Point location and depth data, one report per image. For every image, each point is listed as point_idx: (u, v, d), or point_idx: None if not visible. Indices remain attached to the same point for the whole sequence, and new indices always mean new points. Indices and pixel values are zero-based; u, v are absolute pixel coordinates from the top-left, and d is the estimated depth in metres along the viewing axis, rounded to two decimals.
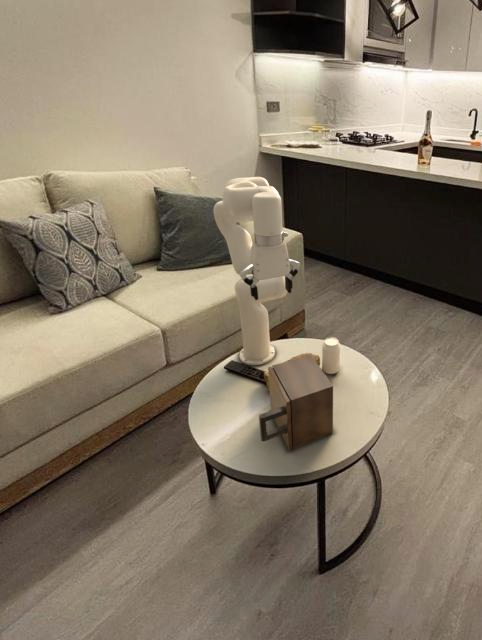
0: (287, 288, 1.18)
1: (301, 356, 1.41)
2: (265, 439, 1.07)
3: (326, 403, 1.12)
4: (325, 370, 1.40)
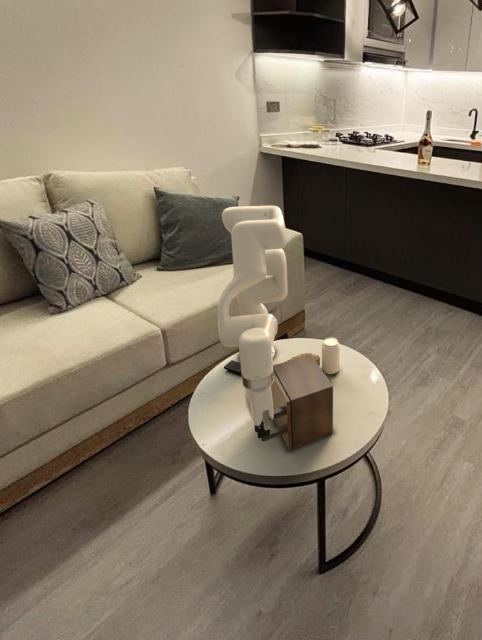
0: None
1: (301, 356, 1.41)
2: (265, 439, 1.07)
3: (326, 403, 1.12)
4: (325, 370, 1.40)
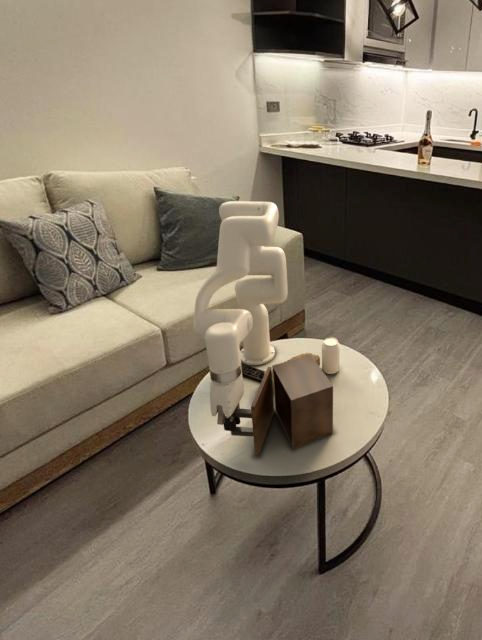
0: None
1: (301, 356, 1.41)
2: (233, 434, 1.08)
3: (326, 403, 1.12)
4: (325, 370, 1.40)
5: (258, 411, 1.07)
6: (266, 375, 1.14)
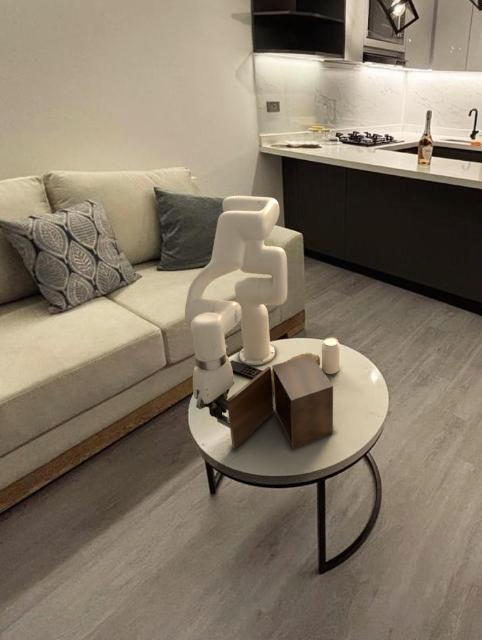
0: None
1: (301, 356, 1.41)
2: (218, 420, 1.12)
3: (326, 403, 1.12)
4: (325, 370, 1.40)
5: (237, 407, 1.08)
6: (260, 374, 1.14)
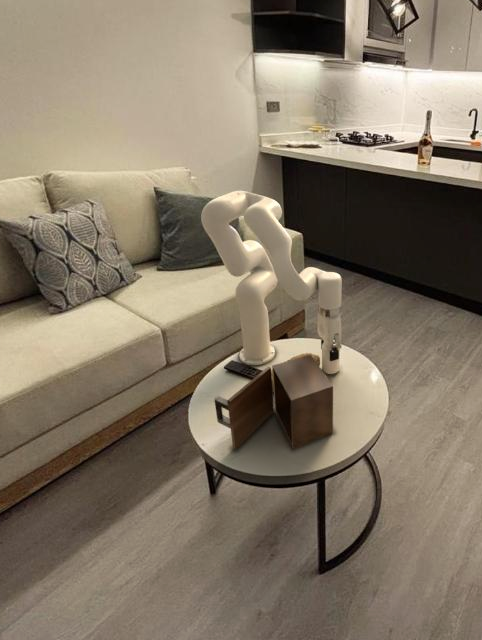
0: None
1: (301, 356, 1.41)
2: (218, 421, 1.12)
3: (326, 403, 1.12)
4: (325, 370, 1.40)
5: (238, 407, 1.08)
6: (261, 374, 1.14)
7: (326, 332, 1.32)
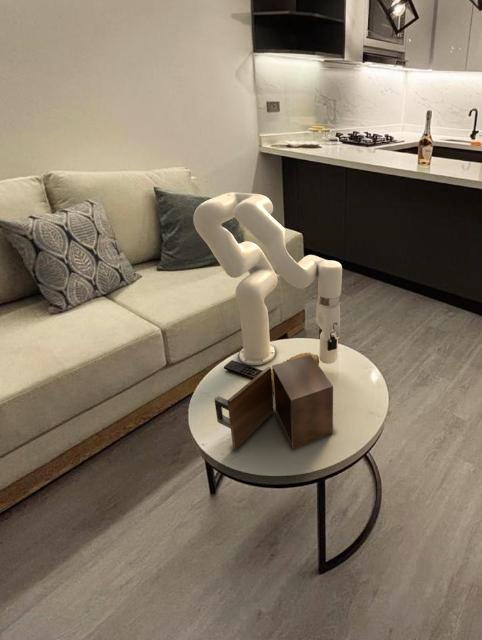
0: None
1: (300, 356, 1.41)
2: (218, 421, 1.12)
3: (326, 403, 1.12)
4: (322, 360, 1.39)
5: (238, 407, 1.08)
6: (261, 374, 1.14)
7: (325, 321, 1.31)
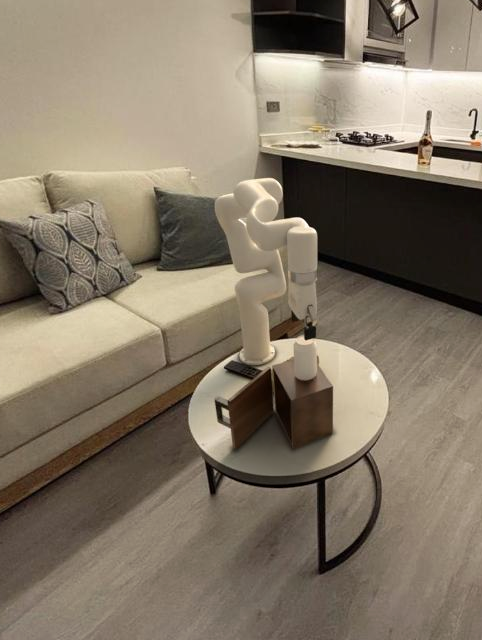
0: None
1: None
2: (218, 421, 1.12)
3: (326, 403, 1.12)
4: (298, 376, 1.11)
5: (238, 407, 1.08)
6: (261, 374, 1.14)
7: (297, 303, 1.04)
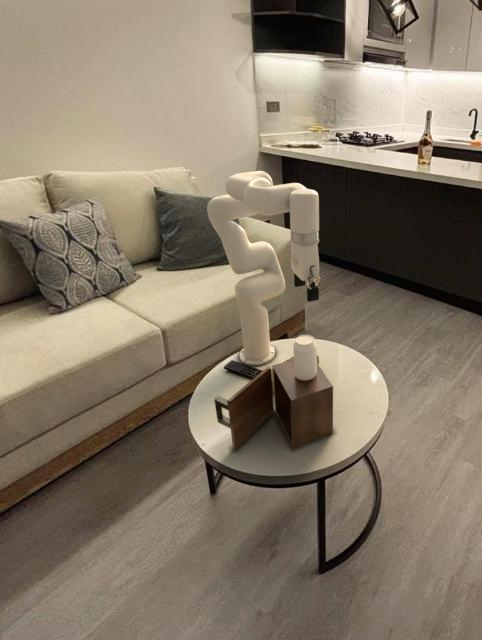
0: (301, 282, 1.18)
1: None
2: (218, 421, 1.12)
3: (326, 403, 1.12)
4: (298, 376, 1.11)
5: (238, 407, 1.08)
6: (261, 374, 1.14)
7: (300, 264, 1.07)
